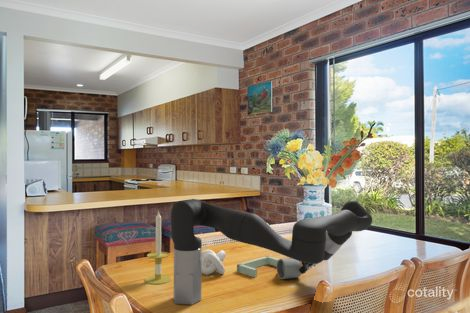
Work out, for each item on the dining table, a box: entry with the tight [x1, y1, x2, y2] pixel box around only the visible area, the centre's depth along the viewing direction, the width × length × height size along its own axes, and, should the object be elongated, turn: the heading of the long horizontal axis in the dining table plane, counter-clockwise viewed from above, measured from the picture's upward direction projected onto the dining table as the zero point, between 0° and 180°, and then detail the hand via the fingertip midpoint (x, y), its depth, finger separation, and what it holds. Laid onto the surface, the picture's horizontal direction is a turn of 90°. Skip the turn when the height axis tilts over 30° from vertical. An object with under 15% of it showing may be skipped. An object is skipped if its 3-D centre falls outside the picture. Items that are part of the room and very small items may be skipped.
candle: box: [144, 210, 172, 286], centre depth 140 cm, size 10×10×27 cm
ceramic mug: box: [276, 258, 303, 280], centre depth 145 cm, size 11×8×8 cm
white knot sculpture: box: [201, 249, 227, 276], centre depth 149 cm, size 11×12×9 cm
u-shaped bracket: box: [236, 255, 280, 278], centre depth 154 cm, size 10×19×3 cm, turn 133°
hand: (301, 271), depth 141 cm, fingers closed
